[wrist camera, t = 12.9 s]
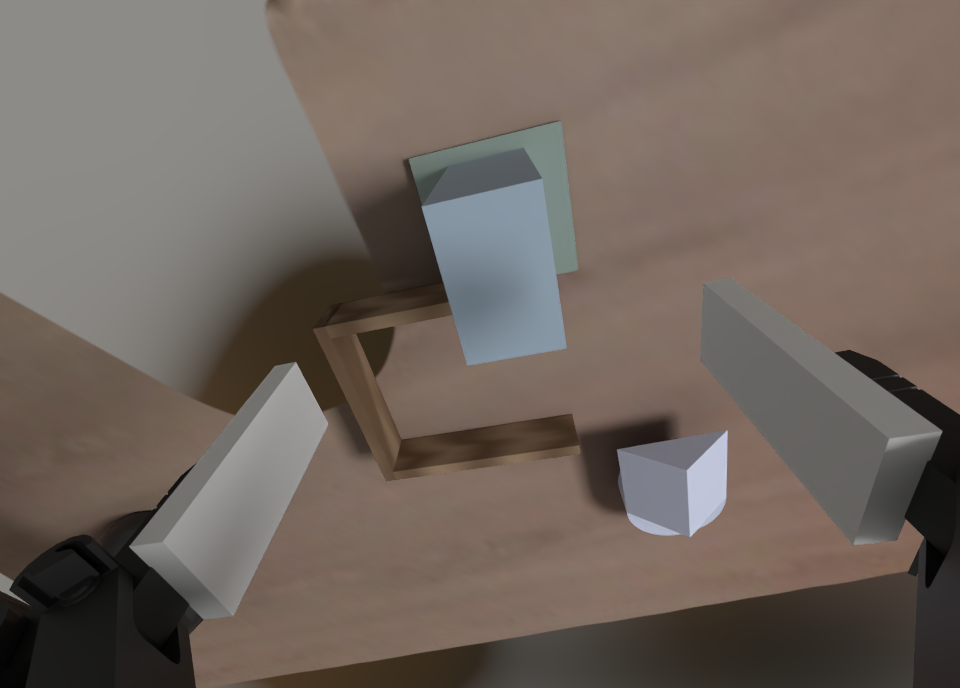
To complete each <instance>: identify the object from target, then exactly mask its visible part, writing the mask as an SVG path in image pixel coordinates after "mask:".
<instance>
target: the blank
mask: <svg viewBox="0 0 960 688" xmlns="http://www.w3.org/2000/svg"><path fill="white" fill-rule="evenodd" d="M422 210H423V214H424V217H425V221H426V224H427V227H428V231H429V234H430V238H431V241H432V245H433V248H434V252H435V255H436V259H437V262H438V266H439V269H440V272H441V276H442V279H443V283H444V286H445V290H446V293H447V297H448V300H449V304H450V307H451V311H452V314H453V317H454V321H455V324H456V328H457V331H458V335H459V338H460V342H461V345H462V349H463V352H464V356H465V359H466V362H467V366H469V365H474V364H480V363H486V362H492V361H497V360H503V359H509V358H514V357H520V356H526V355H532V354H537V353H543V352H549V351H554V350H560V349H566V348H567V347H566V340H565V333H564V326H563V319H562V312H561V305H560V298H559V291H558V284H557V277H556V270H555V263H554V256H553V249H552V242H551V235H550V229H549V222H548V215H547V208H546V201H545V194H544V187H543V180H542V177H541V176H540V174H539V172H538V171H537V169H536V167H535V166H534V164H533V162H532V160H531V159H530V157H529V155H528V154H527V152H526V150H525V149H524V148H520V149H516V150H512V151H508V152H504V153H500V154H495V155H491V156H487V157H483V158H479V159H475V160H471V161H467V162H463V163H459V164H454V165H450V166H448V168H447V169H446V171H445V172H444V174H443V175H442V177H441V178H440V180H439V181H438V183H437V184H436V186H435V187H434V189H433V190H432V192H431V193H430V195H429V196H428V198H427V199H426V201H425V202H424V204H423V205H422Z"/></svg>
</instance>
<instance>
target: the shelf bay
mask: <svg viewBox="0 0 960 688" xmlns="http://www.w3.org/2000/svg"><path fill="white" fill-rule="evenodd" d="M449 315H453V314H452V311H451V307H450V304H449V300H448V297H447V293H446V290H445V286H444V283H443V282H442V283H438V284H433V285H428V286H423V287H418V288H413V289H408V290H403V291H398V292H394V293H389V294H384V295H379V296H374V297H370V298H365V299H360V300H355V301H350V302H345V303H341V304H336V305H331V306H330V308H329V309H328V310H327V311H326V313H325V314H324V315H323V316H322V318H321V319H320V320H319V321H318V323H317V324H316V325H315V327H314V328H313V331H314V333H315V335H316V337H317V339H318V341H319V344H320V345H321V348H322V350H323V351H324V354H325V356H326V358H327V360H328V362H329V364H330V366H331V368H332V370H333V372H334V374H335V376H336V379H337V381H338V383H339V385H340V387H341V389H342V391H343V393H344V395H345V397H346V399H347V401H348V403H349V405H350V407H351V410H352V412H353V414H354V416H355V418H356V420H357V422H358V424H359V426H360V428H361V430H362V432H363V434H364V436H365V438H366V441H367V443H368V445H369V447H370V449H371V451H372V453H373V455H374V457H375V459H376V461H377V463H378V465H379V467H380V469H381V471H382V474H383V476H384V478H385V480H386V481H391V480H398V479H405V478H412V477H419V476H426V475H434V474H441V473H448V472H455V471H462V470H469V469H476V468H484V467H491V466H498V465H505V464H512V463H519V462H526V461H534V460H541V459H548V458H555V457H562V456H569V455H576V454H581V452H580V445H579V441H578V437H577V433H576V429H575V425H574V421H573V417H572V414H570V415H564V416H557V417H551V418H544V419H538V420H531V421H524V422H518V423H511V424H505V425H498V426H492V427H485V428H479V429H472V430H466V431H459V432H453V433H446V434H440V435H433V436H427V437H420V438H414V439H407V440H401V438H400V435H399V433H398V431H397V428H396V426H395V424H394V421H393V419H392V417H391V414H390V412H389V410H388V407H387V405H386V403H385V400H384V398H383V396H382V393H381V391H380V389H379V386H378V384H377V382H376V379H375V377H374V375H373V373H372V370H371V368H370V365H369V363H368V361H367V358H366V356H365V354H364V351H363V349H362V347H361V345H360V342H359V340H358V338H357V335H356V333H361V332H366V331H371V330H376V329H382V328H387V327H392V326H397V325H403V324H408V323H413V322H418V321H423V320H429V319H434V318H439V317H444V316H449Z"/></svg>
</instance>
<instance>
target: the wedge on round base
mask: <svg viewBox="0 0 960 688" xmlns="http://www.w3.org/2000/svg"><path fill="white" fill-rule="evenodd" d="M617 452H618V459H619V465H620V473H619V476H618V486H619V490H620V493H621V496H622V499H623V502H624V506H625V509H626V512H627V515H628V518H629V519H630V521H631V522H632V524H634V525H635V526H636V527H637V528H639V529H641V530H643V531H645V532H648V533H651V534H656V535H678V534H682V535H685V536H687V537H691V536H692V535H693V534H694V532H695V531H696V530H697V529H699V528H701V527H703V526H705V525H706V524H708V523H710V522H711V521H712V520H714V519H715V518H716V517H717V516H718V515H719V513H720V512H721V511H722V509H723V507H724V505H725V502H726V477H727V430H725V431H719V432H714V433H708V434H702V435H696V436H691V437H685V438H679V439H673V440H668V441H662V442H656V443H651V444H645V445H639V446H633V447H628V448H622V449H617Z"/></svg>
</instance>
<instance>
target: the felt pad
mask: <svg viewBox="0 0 960 688" xmlns="http://www.w3.org/2000/svg"><path fill="white" fill-rule="evenodd" d="M520 148H524V149H525V150H526V152H527V154H528V155H529V157H530V159H531V160H532V162H533V164H534V166H535V167H536V169H537V171H538V172H539V174H540V176H541V177H542V180H543V187H544V194H545V201H546V208H547V215H548V222H549V229H550V235H551V242H552V249H553V256H554V263H555V270H556V275H557V274H562V273H567V272H572V271H577V270H578V262H577V253H576V245H575V236H574V227H573V219H572V210H571V201H570V193H569V184H568V175H567V167H566V158H565V149H564V141H563V132H562V123H561V121H556V122H552V123H548V124H544V125H540V126H536V127H532V128H528V129H524V130H520V131H516V132H512V133H508V134H504V135H500V136H496V137H492V138H488V139H484V140H480V141H476V142H472V143H468V144H464V145H460V146H456V147H452V148H448V149H444V150H440V151H436V152H432V153H428V154H424V155H420V156H416V157H412V158H409V163H410V166H411V170H412V173H413V177H414V180H415V183H416V187H417V190H418V194H419V197H420V201H421V204H422V205H423V204H424V202H425V201H426V199H427V198H428V196H429V195H430V193H431V192H432V190H433V189H434V187H435V186H436V184H437V183H438V181H439V180H440V178H441V177H442V175H443V174H444V172H445V171H446V169H447V168H448V166H450V165H454V164H459V163H463V162H467V161H471V160H475V159H479V158H483V157H487V156H491V155H495V154H500V153H504V152H508V151H512V150H516V149H520Z"/></svg>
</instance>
